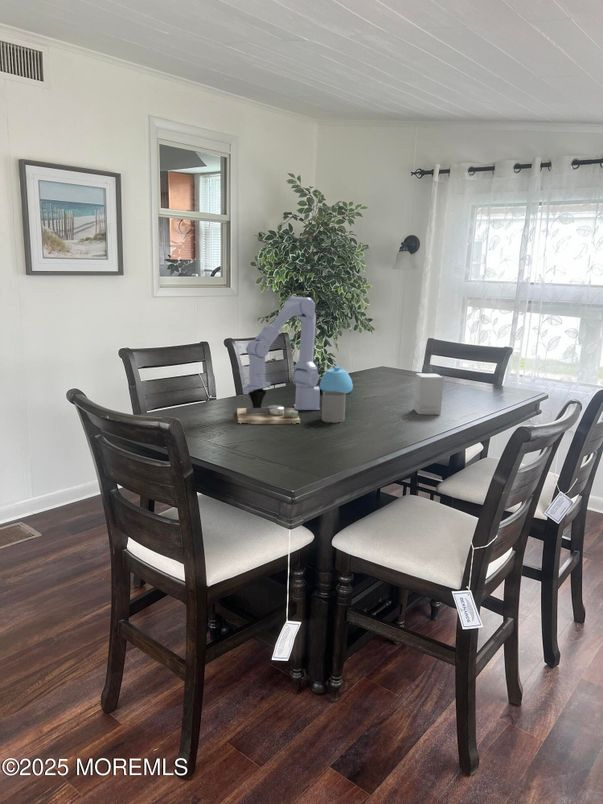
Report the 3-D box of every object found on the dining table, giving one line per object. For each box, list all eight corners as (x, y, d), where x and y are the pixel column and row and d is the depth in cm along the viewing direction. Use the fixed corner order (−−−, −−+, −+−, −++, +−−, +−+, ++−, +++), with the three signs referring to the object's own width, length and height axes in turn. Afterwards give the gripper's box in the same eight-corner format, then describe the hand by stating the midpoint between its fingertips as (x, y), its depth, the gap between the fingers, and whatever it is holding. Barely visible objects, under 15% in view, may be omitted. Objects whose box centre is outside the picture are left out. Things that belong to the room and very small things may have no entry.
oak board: (293, 411, 232) (294, 401, 232) (300, 423, 215) (300, 413, 214) (236, 412, 229) (236, 402, 228) (238, 424, 212) (238, 413, 211)
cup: (328, 423, 216) (329, 396, 214) (317, 418, 223) (318, 392, 221) (348, 421, 220) (349, 394, 218) (337, 416, 227) (338, 390, 225)
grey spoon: (282, 411, 225) (282, 405, 224) (285, 415, 219) (285, 408, 219) (245, 412, 222) (245, 406, 221) (247, 416, 216) (247, 409, 215)
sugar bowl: (358, 391, 275) (359, 366, 272) (342, 396, 262) (343, 370, 260) (329, 387, 282) (330, 363, 280) (313, 392, 270) (314, 366, 268)
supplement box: (441, 415, 234) (444, 377, 230) (418, 414, 233) (421, 377, 230) (434, 409, 242) (437, 373, 239) (412, 409, 242) (415, 372, 239)
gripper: (260, 369, 228) (259, 404, 231) (236, 374, 216) (236, 411, 219) (275, 371, 224) (274, 406, 227) (252, 376, 212) (251, 414, 215)
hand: (256, 409), depth 223 cm, fingers closed
